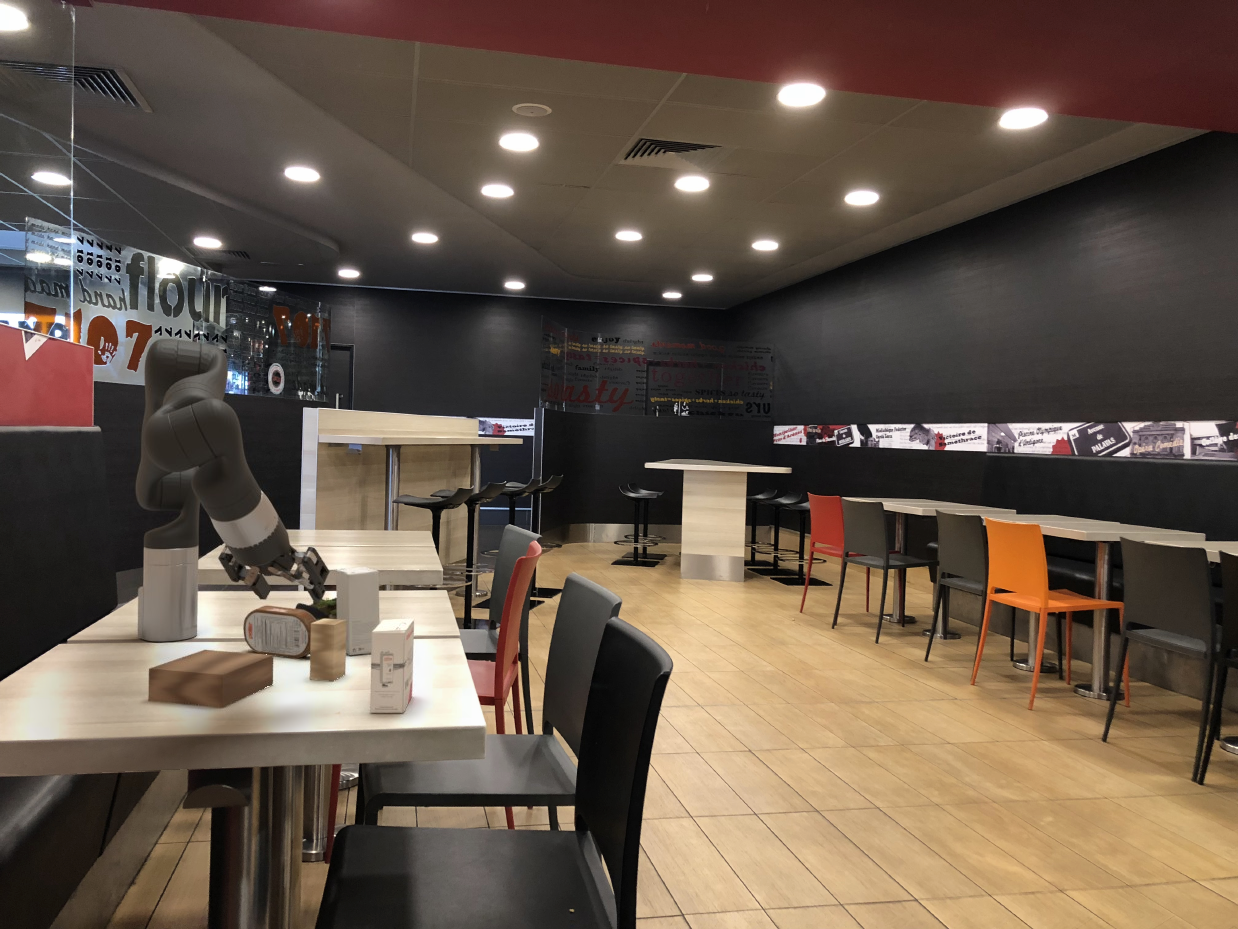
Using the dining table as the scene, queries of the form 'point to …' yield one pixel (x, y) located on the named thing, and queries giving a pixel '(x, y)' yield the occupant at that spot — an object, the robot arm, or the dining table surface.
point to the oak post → (328, 649)
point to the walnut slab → (210, 678)
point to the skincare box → (358, 606)
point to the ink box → (392, 666)
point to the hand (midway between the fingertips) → (292, 596)
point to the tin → (279, 631)
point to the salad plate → (321, 609)
